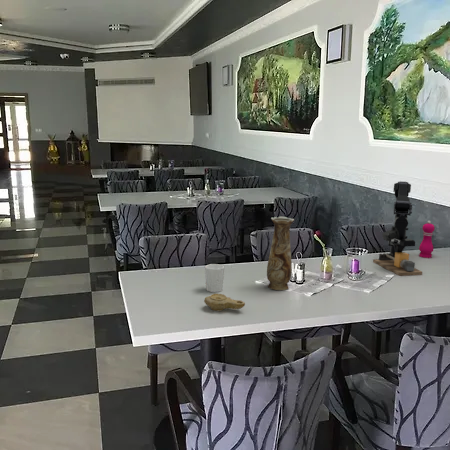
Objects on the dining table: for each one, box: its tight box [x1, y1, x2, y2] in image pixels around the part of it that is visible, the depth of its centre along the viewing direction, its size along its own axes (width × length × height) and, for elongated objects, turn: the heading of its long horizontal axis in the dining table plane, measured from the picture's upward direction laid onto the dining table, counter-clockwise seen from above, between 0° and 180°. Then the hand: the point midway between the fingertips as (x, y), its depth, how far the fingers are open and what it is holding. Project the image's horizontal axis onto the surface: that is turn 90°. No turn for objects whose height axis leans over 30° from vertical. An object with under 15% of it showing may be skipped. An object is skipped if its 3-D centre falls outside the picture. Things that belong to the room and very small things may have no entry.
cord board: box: [372, 252, 423, 277], centre depth 239 cm, size 24×12×6 cm, turn 13°
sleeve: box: [394, 251, 410, 268], centre depth 236 cm, size 4×5×6 cm
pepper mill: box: [418, 220, 435, 259], centre depth 262 cm, size 7×7×20 cm
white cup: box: [204, 263, 225, 293], centre depth 201 cm, size 8×8×10 cm
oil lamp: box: [203, 293, 246, 312], centre depth 180 cm, size 11×14×5 cm
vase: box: [266, 215, 295, 291], centre depth 204 cm, size 10×11×30 cm
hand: (397, 256), depth 239 cm, fingers closed
